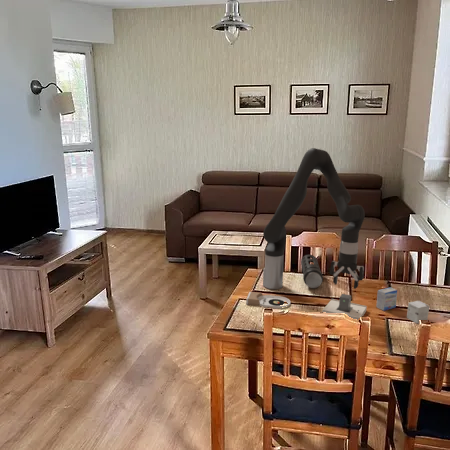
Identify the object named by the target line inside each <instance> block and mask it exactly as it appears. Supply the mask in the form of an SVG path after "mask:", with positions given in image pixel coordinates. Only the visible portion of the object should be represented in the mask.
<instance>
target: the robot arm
mask: <svg viewBox="0 0 450 450" xmlns="http://www.w3.org/2000/svg"><path fill="white" fill-rule="evenodd" d="M314 170H315V171H316V170H317V171H320V172H321V174H322V175H323V177H324V178H325V180H326V186H327V191H328V193H329V195H330V196H331V198H332V200H333V202H334V203H335V206H336V211H337V214H338V216H339V219H340V220H341V221H343V223H345V224H347V223H348V225H345V226H344V227H343V228H342V229H341V237H340V242H339V254H338V255H339V256H338V261H336V260H332V261H331V262H330V268H329V275H331V276H333V279H332V280H333V281H332V282H333V284H334V285H338V277H339V274H340V273H342V274H347V275H351V276H352V277H353V279H354V282H353V289H354V290H356V289H357V288H358V287H359V282H360V281H363V280H364V277H365V275H364V274H365V266H364V265H358V264H357V263H358V253H359V237H360V235H359V234H360V231H361V228H362V225H363V223H364V220H365V215H366V213H365V209H364V207H363V206H362V205H361V204H353V205H351V204H350V205H349V203H351V200H352V196H351V194H350V193H349V191H348V189H347V188H346V186H345V185H344V183H343V182H342V180H341V178H340V176H339V174H338V172H337V169H336V167H335V165H334V162H333V160H332V158H331V155H330V154H329V152H328V151H326V150H324V149H321V148H315V147H311V148H309V149H308V150H306V151H305V153H304V156H303V157H302V159H301V162H300V164H299V166H298V169H297V170H296V173H295V175H294V177H293V178H292V181H291V182H290V185H289V187H288V188H287V189H286V191H285V193H284V195H283V196H282V199H281V200H280V203H279V204H278V206H277V208H276V210H275V212H274V214H273V216H272V217H271V219H270V221H268V223H267V225H266V226H265V227H264V229H263V234H262V235H263V238H264V241H265V242H267V246H266V247H265V251H264V254H265V255H264V268H263V269H262V287H265V288H266V289H269V290H280V289H282V288H283V286H284V285H283V284H284V283H283V282H284V281H283V280H284V279H283V278H284V258H285V257H284V256H285V255H284V253H285V249H286V241H287V228H286V224H287V223H288V222H289V221H290V219H291V218H292V217H293V216H294V215H295V214H296V213H297V211H298V210H299V209H300V207H301V206H302V205H303V203H304V201H305V198H306V196H307V194H308V193H307V192H308V181H309V178H310V177H311V174H312V173H313V171H314ZM336 267H338V270H336V271H335V268H336ZM356 270H358V272H359V275H358V272H357V271H356Z"/></svg>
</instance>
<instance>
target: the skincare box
mask: <svg viewBox="0 0 450 450" xmlns="http://www.w3.org/2000/svg"><path fill="white" fill-rule="evenodd" d="M407 306H408V307H407V311H406V312H407V313H406V318H407V320H410V321H412V322H414V324H415V323H416V324H420V323H419V320H427V321H428V320H429V319H428V318H429V310H430V305H428V304H426V303H425V302H422V301H421V300H415V301H410V302H408V305H407Z"/></svg>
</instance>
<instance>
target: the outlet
mask: <svg viewBox="0 0 450 450" xmlns="http://www.w3.org/2000/svg"><path fill="white" fill-rule="evenodd" d="M339 301H340V299H339V300H338V299H334V298H331V299H330V301H329V302H327V304H326V305H325V307H324V308H323V309H322V310H321V313H322V312H326V313H345V314H347V315H348V316H349V317H351V318H353V319H357V320H358V319H359V318H360V317H362V316H363V317H364V315H365V314H366V312H367V307H368V306H367V305H363V304H359V303H353V302H351V306H350V313H349V312H344V311H339ZM363 317H362V318H363Z"/></svg>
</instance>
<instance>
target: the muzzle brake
mask: <svg viewBox="0 0 450 450" xmlns="http://www.w3.org/2000/svg"><path fill="white" fill-rule="evenodd" d="M300 261H301V262H300V263H301V264H300V265H301V270H302V276H303V282H304V285H306V286H307V287H309V288H311V289H316V288H319V287H320V286H321V285H322V284H323V281H324V276H323V274H322V272H321V269H320V265H319V262H318V259H317V257H316V256H314V255H313V254H305V255H304V256H303V257H302V258H301V259H300Z"/></svg>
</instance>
